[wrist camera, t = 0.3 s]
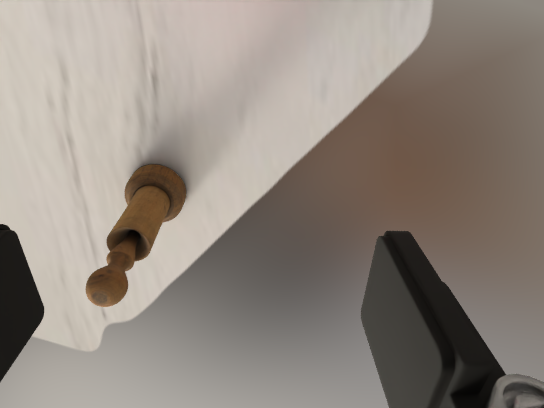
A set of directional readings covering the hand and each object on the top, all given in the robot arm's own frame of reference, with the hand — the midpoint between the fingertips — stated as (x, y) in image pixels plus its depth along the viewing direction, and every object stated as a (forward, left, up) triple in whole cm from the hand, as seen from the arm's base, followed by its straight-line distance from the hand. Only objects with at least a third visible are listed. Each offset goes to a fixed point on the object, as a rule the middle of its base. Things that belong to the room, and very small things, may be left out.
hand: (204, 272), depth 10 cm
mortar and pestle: (+14, -10, -31) cm, 35 cm away
